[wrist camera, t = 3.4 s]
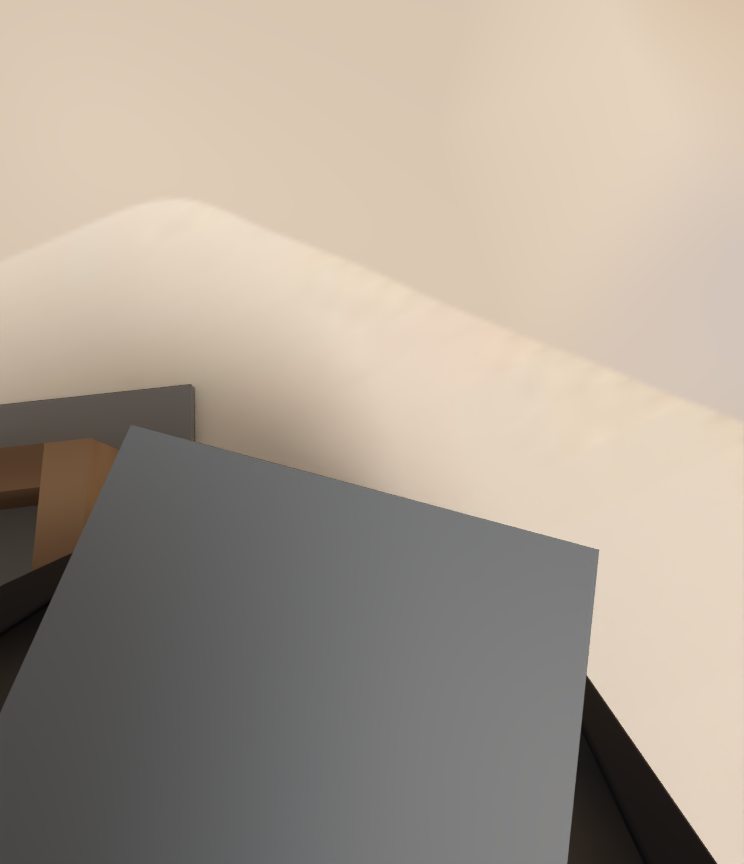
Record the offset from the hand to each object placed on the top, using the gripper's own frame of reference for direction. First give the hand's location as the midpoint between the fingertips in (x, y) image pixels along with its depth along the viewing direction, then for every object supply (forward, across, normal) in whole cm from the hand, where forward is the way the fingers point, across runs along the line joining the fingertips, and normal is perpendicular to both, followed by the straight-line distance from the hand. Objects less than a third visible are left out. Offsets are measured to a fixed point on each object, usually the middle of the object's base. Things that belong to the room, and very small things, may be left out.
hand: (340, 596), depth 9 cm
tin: (+4, 0, +6) cm, 7 cm away
